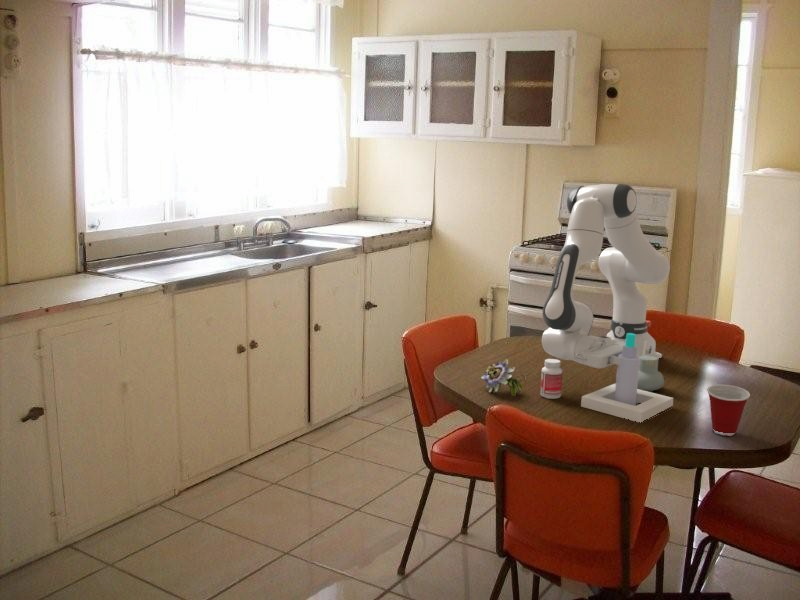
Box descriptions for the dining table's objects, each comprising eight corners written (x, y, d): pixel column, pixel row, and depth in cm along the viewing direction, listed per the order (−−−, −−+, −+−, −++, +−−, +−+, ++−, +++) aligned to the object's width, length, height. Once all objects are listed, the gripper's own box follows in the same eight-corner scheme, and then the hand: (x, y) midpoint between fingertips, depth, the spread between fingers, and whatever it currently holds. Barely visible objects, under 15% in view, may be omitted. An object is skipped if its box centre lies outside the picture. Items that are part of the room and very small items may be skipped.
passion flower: (490, 410, 265) (471, 375, 267) (514, 397, 271) (496, 363, 273) (511, 398, 256) (491, 362, 258) (536, 385, 262) (516, 350, 264)
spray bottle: (627, 412, 249) (634, 337, 244) (609, 406, 253) (615, 333, 249) (639, 408, 253) (646, 334, 248) (621, 402, 257) (628, 330, 253)
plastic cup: (701, 436, 231) (706, 393, 229) (703, 423, 241) (707, 382, 239) (745, 443, 227) (750, 399, 225) (745, 429, 237) (750, 387, 235)
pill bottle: (565, 397, 261) (567, 361, 259) (550, 400, 258) (552, 364, 255) (550, 391, 266) (553, 356, 264) (535, 394, 263) (538, 359, 261)
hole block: (614, 392, 267) (615, 383, 266) (672, 407, 254) (673, 397, 253) (580, 406, 253) (581, 396, 253) (640, 422, 240) (641, 412, 240)
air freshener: (665, 394, 267) (668, 362, 265) (638, 394, 266) (641, 362, 264) (652, 383, 278) (655, 353, 276) (627, 383, 277) (629, 352, 275)
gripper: (572, 346, 251) (615, 356, 242) (609, 335, 266) (651, 344, 257) (571, 367, 253) (613, 378, 243) (607, 355, 267) (649, 364, 258)
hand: (633, 360), depth 250 cm, fingers closed on spray bottle, 4 cm apart
